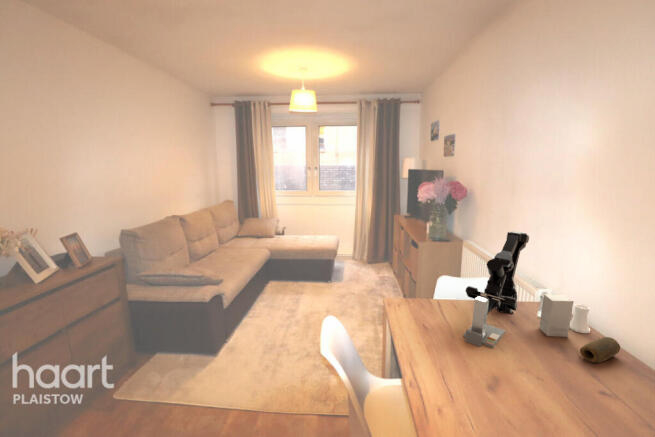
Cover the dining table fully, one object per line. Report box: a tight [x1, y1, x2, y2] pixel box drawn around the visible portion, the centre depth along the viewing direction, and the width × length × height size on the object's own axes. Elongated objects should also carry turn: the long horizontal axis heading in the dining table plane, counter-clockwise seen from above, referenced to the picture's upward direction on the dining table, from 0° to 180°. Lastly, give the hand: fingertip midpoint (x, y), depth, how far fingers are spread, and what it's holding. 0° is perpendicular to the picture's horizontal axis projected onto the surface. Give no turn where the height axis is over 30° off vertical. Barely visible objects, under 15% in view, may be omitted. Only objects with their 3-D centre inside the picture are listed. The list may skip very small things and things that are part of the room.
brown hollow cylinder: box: [579, 336, 621, 363], centre depth 113 cm, size 15×7×7 cm, turn 119°
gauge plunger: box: [471, 296, 495, 341], centre depth 121 cm, size 5×9×15 cm, turn 47°
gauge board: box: [462, 323, 506, 349], centre depth 126 cm, size 19×11×4 cm, turn 137°
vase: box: [569, 303, 591, 334], centre depth 133 cm, size 8×8×10 cm
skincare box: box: [538, 293, 574, 338], centre depth 129 cm, size 8×7×16 cm
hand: (484, 316), depth 127 cm, fingers closed
